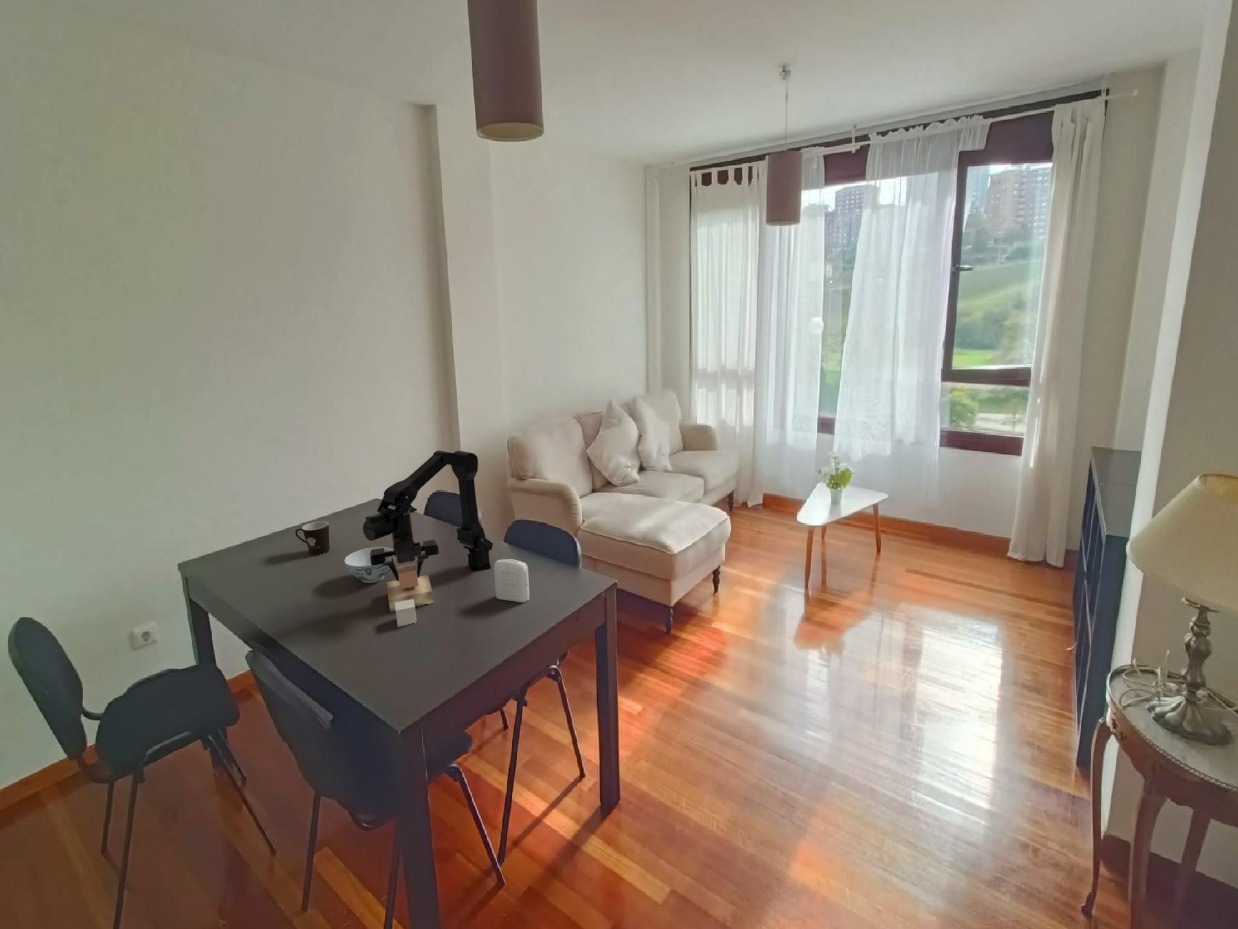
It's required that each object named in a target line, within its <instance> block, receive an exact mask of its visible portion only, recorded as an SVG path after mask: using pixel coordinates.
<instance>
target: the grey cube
mask: <svg viewBox="0 0 1238 929" xmlns="http://www.w3.org/2000/svg"><path fill="white" fill-rule="evenodd" d="M395 609H396V611H395V614H396V616H395V617H396V623H397V628H399V627H404V626H408V624H409V625H413V624H412V623H414V624H417V623H418V620H417V613H416V607H415V604H414V599H410V600H405V601H400V602H395ZM416 622H417V623H416Z"/></svg>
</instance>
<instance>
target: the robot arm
mask: <svg viewBox="0 0 1238 929" xmlns="http://www.w3.org/2000/svg"><path fill="white" fill-rule="evenodd" d="M447 465H448V466H451V470H452V472H453V474H454V476H455V477H456V479H457V483H458V491H459V501H460V509H461V519H462V522H461V525H460V527H457V528H456V534H457V538H456V539H457V540H458V542H459V544H460V545H462V546H463V548H464V549H465V550H467V553H466V561H467V567H468V568H469V569H470V571H471V572H476V571H482V570H488V569H491V568H492V565H491V561H490V551H492V550H493V546H494V543H493V542H492V541H491V540H489V539H488V538H486V533H485V529H484V528H483V526H482V524H481V523H480V521H479V518H478V517H479V515H478V507H477V506H478V505H477V495H476V494H477V493H476V484H475V483H476V482H475V477H476V475H477V474H478V471H479V458H478V456H477V455H476V454H475V453H474V452H470V451H464V450H455V451H454V452H449V451H446V450H441V449H440V450H436V451H434V452H433V455H431V456H430V457H429V458H428V459H427V460H426V461H425V462H423V463H422V464H421V465H420V466H419V467H417V469H415V470H414V471H413V472H412V473H411V474H410V475H409V476H408V477H406V478H405V479H403V480H400V481H396V482H394V483H393V484H392V485H390V486H389V487H387V488H386V489H385V490H384V492H383V496H382V500H381V501H380V504H379V506H378V508H377V509H376V512H377V513H375V514H373V515H368V516H365V521H364V522H363V526H362V532H363V535H364V537H365V538H366V540H368V541H370V542H373V541H376V540H378V539H381V538H385V537H386V536H390V535H391V537H392V544H393V546H392V547H393V548H392V549H393V550H392V551H386V552H384V548H380V549H374V550H371V552H370V560H371V565H373V566H374V565H379V564H383V566H388V567H389V568H390V571H391V572H392V573H393V575H394V576H393V577H395V579H396V580H397V581H399V575H398V568H397V565H396V563H398V564H405V563H408V562H409V563H412V562H415V561H416V570H417V577H419V576H421V575H420V574H421V571H422V567H423V564H424V561H425V560H426V559H429V557H430V556H436V555H437V556H438V555H439V554H440V548H439V545H438V542H437V540H436V539H430V540H423V541H422V544H421V542H419V541H418V542H415V541H414V539H415V538H414V534H413V532H414V531H413V524H412V515H411V514H412V513H415V512H417V511H418V509H417V508H416V507H414V506H413V505H412V504H413V502H414V501H415V500H416V499H417V496H418V493H419V492H420V490H421V489H422V488H423V487H424V486H425V485H426V484H428V482H429V481H430V480H432V479H433V478H434V477H435V476H436V475H437V474H438V473H439V472H441V471H442V470H443V469H444V468H445V467H446V466H447ZM390 507H392V508H390ZM393 508H394V509H393ZM393 557H395V558H396V561H397V562H395V559H394V558H393Z"/></svg>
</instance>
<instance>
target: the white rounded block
mask: <svg viewBox="0 0 1238 929" xmlns="http://www.w3.org/2000/svg"><path fill="white" fill-rule="evenodd" d="M493 566H494V567H493V572H494V586H495V598H496V599H498V600H503V601H510V602H511V601H512V602H516V603H526V602H525V601H527V600H528V601H529V600H530V582H529V567H528V564H527V563H525V562H523V561H520V560H517V559H512V558H502V559H497V560H496V561H495V562H494V565H493ZM528 601H527V602H528Z"/></svg>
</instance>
